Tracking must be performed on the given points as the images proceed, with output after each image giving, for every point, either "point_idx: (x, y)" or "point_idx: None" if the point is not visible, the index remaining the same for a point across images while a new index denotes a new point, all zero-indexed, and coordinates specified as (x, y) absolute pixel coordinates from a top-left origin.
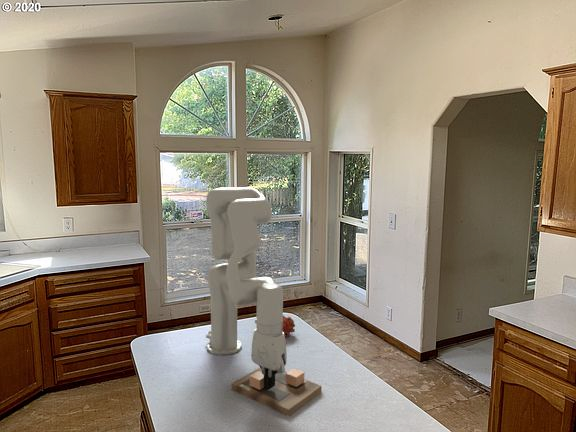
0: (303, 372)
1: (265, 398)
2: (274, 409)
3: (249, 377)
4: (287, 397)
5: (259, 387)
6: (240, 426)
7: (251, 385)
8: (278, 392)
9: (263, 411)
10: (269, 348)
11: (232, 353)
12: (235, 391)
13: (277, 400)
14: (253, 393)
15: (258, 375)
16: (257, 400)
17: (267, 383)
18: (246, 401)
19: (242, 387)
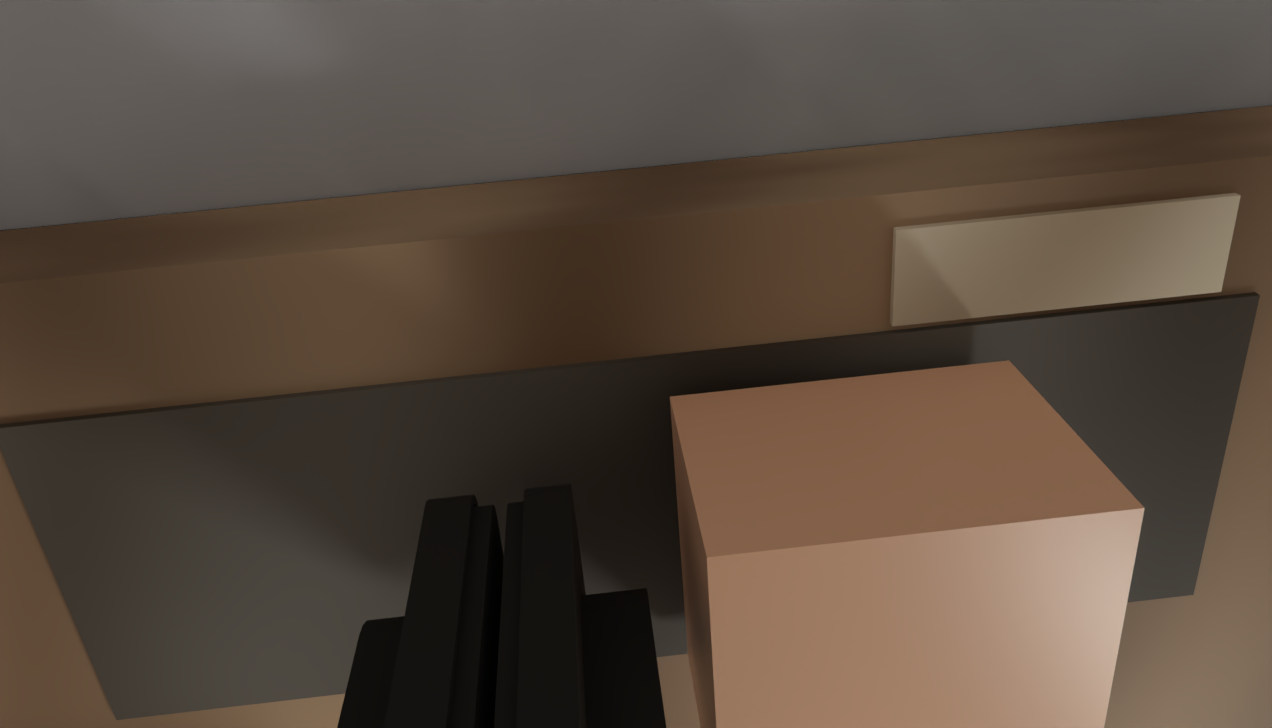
0: None
1: (315, 271)
2: (57, 228)
3: (1239, 571)
4: (35, 620)
5: (684, 425)
6: None
7: (953, 374)
8: (317, 612)
9: (161, 7)
10: None
11: None
12: (1241, 110)
13: (51, 407)
14: (708, 212)
15: (926, 680)
16: (568, 186)
17: (423, 603)
18: (768, 11)
19: (1126, 205)
